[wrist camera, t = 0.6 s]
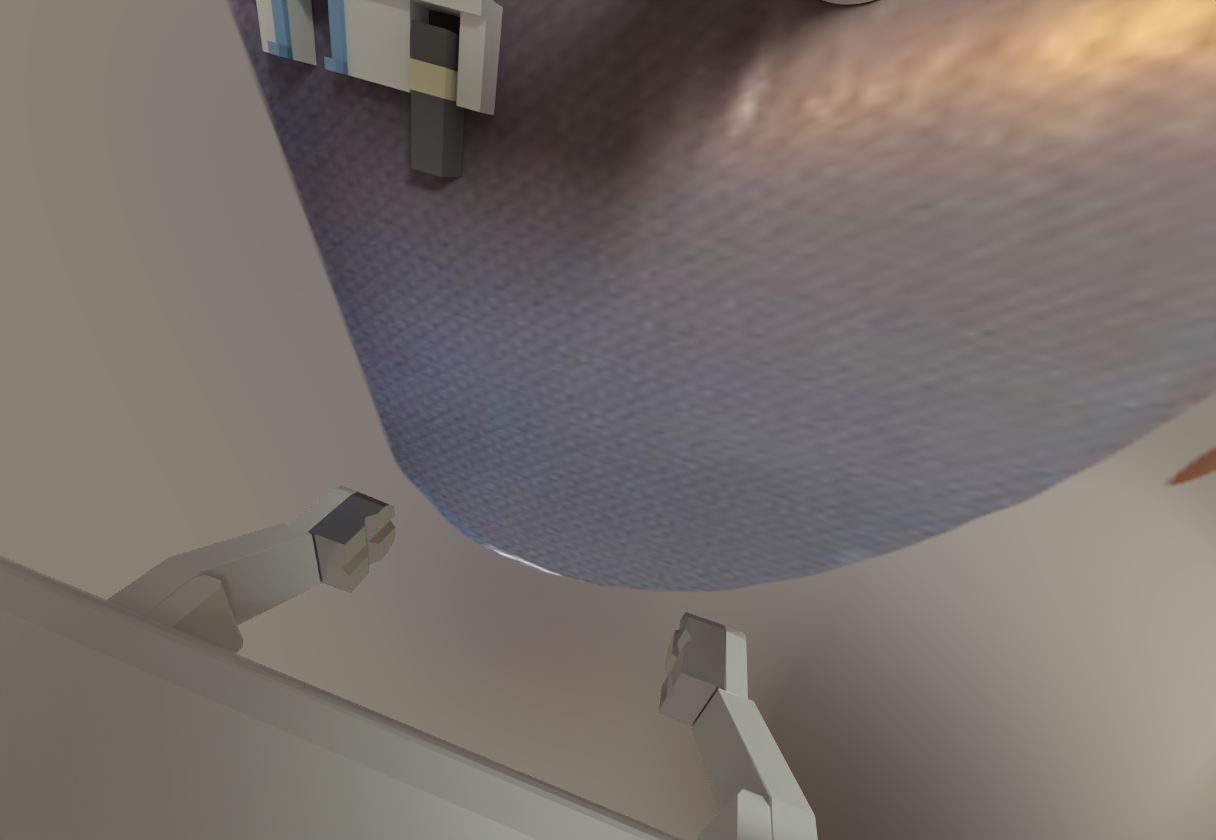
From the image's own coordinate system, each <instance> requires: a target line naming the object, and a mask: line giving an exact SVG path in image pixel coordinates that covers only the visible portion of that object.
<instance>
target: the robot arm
mask: <svg viewBox="0 0 1216 840" xmlns="http://www.w3.org/2000/svg"><path fill="white" fill-rule="evenodd" d="M823 1H826V2H830V3H835V4H860V3H865V2H869V1H873V0H823ZM394 516H395V514H394V506H392V505H389V504H387V503H384V502H382V501H379V500H376V499H374V498H372V497H369V496H367V495H364V494H362V493H359V492H356V491H354V490H351V489H348V488H346V487H343V486H340V487H337V488H334V489H333V490H332V491H330V492H329V493H328V494H327V495H325V496H324V497H323V498H322V499H320V500H319V501H318V502H316V503H315V504H314V505H313V506H311V507H310V508H309V509H308V510H306V511H305V512H304V513H303V514H301V515H300V516H299V517H298V518H296V519H295V520H294V521H292V523H290V524H289V525H287V524H284V523H282V524H279V525H275V526H272V527H269V528H265V529H262V530H259V531H255V532H252V533H249V534H245V535H242V536H239V537H235V538H232V539H229V540H225V541H222V542H219V543H216V544H212V545H209V546H205V547H203V548H199V549H196V550H192V551H189V552H186V553H182V554H179V555H176V556H173V557H169V558H167V559H166V560H164V561H163V562H162V563H160V564H159V565H157V566H156V567H154V568H153V569H151V570H150V571H148V572H147V573H146V574H144V575H143V576H141V577H140V578H138V579H137V580H135V581H134V582H132V583H131V584H130V585H128V586H126V587H125V588H124V589H122V590H121V591H119V592H118V593H116V594H115V595H114V596H112V597H110V598H109V599H107V600H105V599H103V598H100V597H98V596H95V595H93V594H91V593H88V592H86V591H83V590H81V589H78V588H76V587H74V586H71V585H69V584H67V583H64V582H62V581H59V580H56V579H55V578H52V577H50V576H47V575H45V574H42V573H40V572H38V571H35V570H33V569H31V568H28V567H25V566H23V565H21V564H18V563H16V562H14V561H11V560H9V559H6V558H4V557H2V556H0V840H683V839H681V838H678V837H676V836H673V835H671V834H669V833H666V832H663V831H661V830H659V829H657V828H654V827H652V826H649V825H647V824H645V823H642V822H640V821H637V820H635V819H633V818H630V817H628V816H625V815H623V814H620V813H618V812H615V811H613V810H611V809H608V808H606V807H604V806H601V805H599V804H596V803H594V802H591V801H589V800H587V799H584V798H582V797H580V796H577V795H575V794H572V793H570V792H568V791H565V790H563V789H560V788H558V787H555V786H553V785H551V784H548V783H546V782H543V781H541V780H539V779H536V778H534V777H532V776H529V775H527V774H524V773H522V772H519V771H517V770H515V769H512V768H510V767H507V766H505V765H503V764H500V763H498V762H495V761H493V760H490V759H488V758H486V757H483V756H481V755H479V754H476V753H474V752H471V751H469V750H466V749H464V748H462V747H459V746H457V745H454V744H452V743H450V742H447V741H445V740H442V739H440V738H438V737H435V736H433V735H430V734H428V733H425V732H423V731H421V730H418V729H416V728H414V727H411V726H409V725H406V724H404V723H402V722H399V721H397V720H394V719H392V718H389V717H387V716H385V715H382V714H380V713H378V712H375V711H373V710H370V709H368V708H366V707H363V706H361V705H358V704H356V703H353V702H351V701H349V700H346V699H344V698H341V697H339V696H336V695H334V694H332V693H329V692H327V691H325V690H322V689H320V688H317V687H315V686H312V685H310V684H308V683H305V682H303V681H300V680H298V679H296V678H293V677H291V676H288V675H286V674H284V673H281V672H279V671H276V670H274V669H271V668H269V667H266V666H264V665H262V664H259V663H257V662H254V661H252V660H250V659H247V658H245V657H243V656H240V655H238V654H236V653H237V652H238V651H239V650H240V649H241V648H242V647H243V639H242V636H241V634H240V631H239V628H238V625H239V624H241V623H243V622H245V621H247V620H249V619H251V618H253V617H255V616H257V615H259V614H261V613H263V612H265V611H267V610H269V609H271V608H273V607H275V606H277V605H279V604H281V603H283V602H285V601H287V600H289V599H291V598H294V597H295V596H298V595H300V594H302V593H304V592H306V591H308V590H310V589H312V588H314V587H316V586H318V585H320V584H321V582H322V583H325V584H328V585H330V586H333V587H336V588H339V589H342V590H345V591H347V592H350V593H351V592H352V591H353V590H354V589H355V588H356V587H357V585H358V584H359V583H360V582H361V581H362V580H363V579H364V578H365V577H366V576H367V575H368V573H369V565H370V564H372V563H374V562H377V561H379V560H381V559H382V558H383V557H384V556H385V554H386V553H387V552H388V551H389V549H390V547H391V545H392V543H393V541H394V537H395V526H394V525H393V523H392V522H391V519H392V518H393V517H394ZM665 670H666V672H667V677H666V679H665V681H664V683H663V685H662V690H661V697H660V704H659V713H660V714H663V715H665V716H668V717H670V718H672V719H675V720H677V721H679V722H682V723H684V724H687V725H689V726H691V727H692V728H691V729H692V732H693V735H694V738H695V741H696V744H697V747H698V750H699V753H700V756H701V759H702V762H703V765H704V768H705V771H706V774H707V777H708V780H709V783H710V786H711V789H712V792H713V795H714V797H715V800H716V804H717V806H718V809H719V812H720V813H719V814H718V815H717V816H716V817H715V818H714V819H713V820H712V821H711V822H710V823H709V824H708V825H707V826H706V827H705V828H704V830H703V831H702V832H701V833H700V834H699V836H698V840H818V839H817V830H816V822H815V815H814V814H813V812H812V810H811V808H810V806H809V804H808V802H807V800H806V799H805V797H804V795H803V793H802V791H801V789H800V787H799V785H798V784H797V782H796V780H795V778H794V776H793V774H792V772H791V770H790V769H789V767H788V765H787V763H786V761H785V759H784V757H783V756H782V754H781V752H780V750H779V748H778V746H777V744H776V743H775V741H774V739H773V737H772V735H771V733H770V731H769V729H768V728H767V726H766V724H765V722H764V720H763V718H762V716H761V714H760V713H759V711H758V709H757V707H756V705H755V703H754V701H751V700H749V699H748V696H747V659H746V637H745V634H744V633H742V632H739V631H737V630H734V629H731V628H728V627H725V626H723V625H721V624H719V623H716V622H712V621H710V620H707V619H704V618H701V617H698V616H696V615H693V614H690V613H687V612H686V613H685V614H684V615H683V617H682V619H681V620H680V628H679V630H676V631H675V632H674V634H673V637H672V639H671V642H670V645H669V648H668V652H667V657H666V662H665Z"/></svg>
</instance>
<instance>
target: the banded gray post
mask: <svg viewBox="0 0 1216 840" xmlns="http://www.w3.org/2000/svg"><path fill="white" fill-rule="evenodd" d="M459 36H460V35H458V34H455V33H453V32H451V31H449V30H447V29H444V28H440V27H437V26H433V25H429V24H425V23H421V22H418V21H414V20H411V58H409V89H411V168H412V169H415V170H419V171H422V172H425V173H429V174H432V175H435V176H439V177H461V176H462V158H463V139H464V121H465V108H463V107H460V106H456V102H457V80H458V58H459Z"/></svg>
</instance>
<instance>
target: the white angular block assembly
mask: <svg viewBox="0 0 1216 840" xmlns="http://www.w3.org/2000/svg"><path fill="white" fill-rule="evenodd" d="M256 4H257V11H258V18H259V26H260V33H261V41H262V48H263V51H264V52H267V53H270V54H273V55H277V56H280V57H284V58H288V59H292V60H296V61H300V62H304V63H308V64H312V65H316V66H317V63H316V51H315V40H314V28H313V17H312V5H311V0H256ZM429 9H430V10H433V11H437V12H441V13H445V14H449V15H452V16H456V17H460V36H459V58H458V80H457V102H456V106H460V107H463V108H467V109H470V110H474V111H477V112H481V113H486V114H490V115H494V110H495V98H496V86H497V73H498V61H499V49H500V37H501V25H502V13H503V7H501V6H500V5H499V4H497V3H496V2H494V1H493V0H328V11H329V25H330V38H331V52H332V58H328V57H325V56H324V62H325V69H326V70H330V71H334V72H337V73H341V74H345V75H349V76H353V77H356V78H360V79H364V80H367V81H371V82H374V83H378V84H381V85H385V86H388V87H392V88H396V89H399V90H403V91H406V92H410V93H411V89H409V58H411V20H414V21H418V22H421V23H425V24H429Z"/></svg>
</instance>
